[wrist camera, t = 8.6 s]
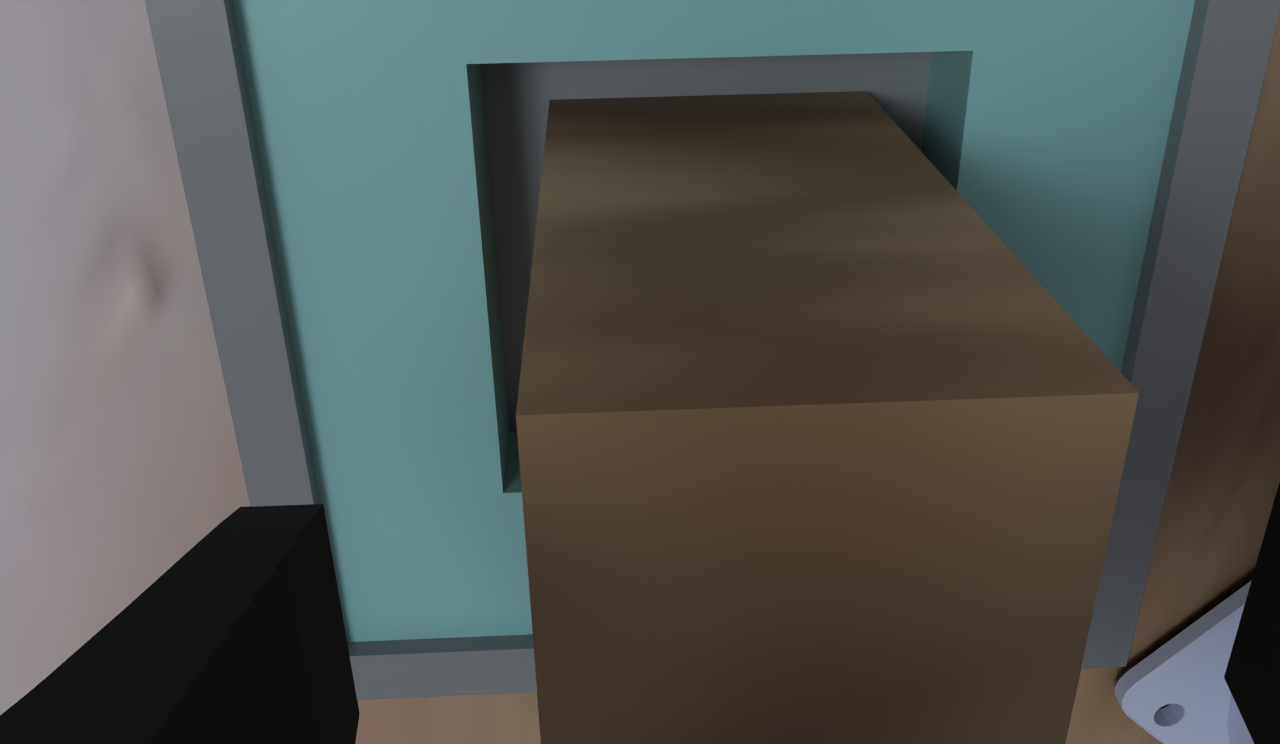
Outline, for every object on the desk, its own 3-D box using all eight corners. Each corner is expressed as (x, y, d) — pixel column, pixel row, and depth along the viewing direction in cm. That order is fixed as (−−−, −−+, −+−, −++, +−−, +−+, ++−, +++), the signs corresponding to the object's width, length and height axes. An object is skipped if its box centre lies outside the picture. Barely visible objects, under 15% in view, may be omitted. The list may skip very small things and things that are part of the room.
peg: (866, 91, 14) (1138, 392, 7) (845, 372, 16) (1047, 829, 9) (549, 99, 14) (516, 414, 7) (564, 381, 16) (549, 853, 9)
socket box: (1221, -277, 13) (1349, -290, 11) (1062, 561, 19) (1126, 665, 17) (173, -259, 13) (89, -268, 11) (327, 591, 18) (291, 702, 16)
